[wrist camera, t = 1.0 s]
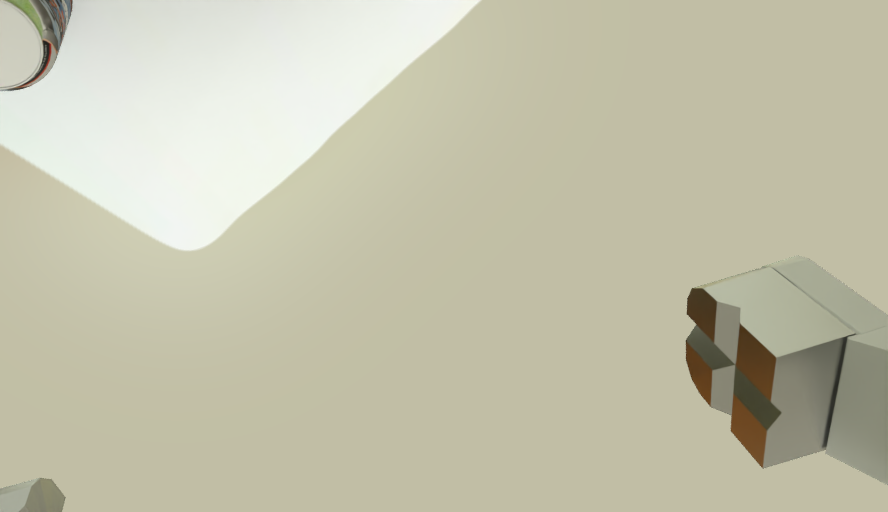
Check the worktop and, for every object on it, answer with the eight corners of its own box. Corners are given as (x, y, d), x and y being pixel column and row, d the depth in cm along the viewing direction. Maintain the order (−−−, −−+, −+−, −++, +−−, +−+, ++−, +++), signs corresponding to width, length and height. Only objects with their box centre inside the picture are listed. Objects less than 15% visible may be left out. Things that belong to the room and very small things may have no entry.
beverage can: (31, 50, 47) (30, 141, 39) (-85, -30, 42) (-113, 55, 34) (94, -15, 47) (106, 65, 38) (-17, -105, 41) (-29, -35, 33)
